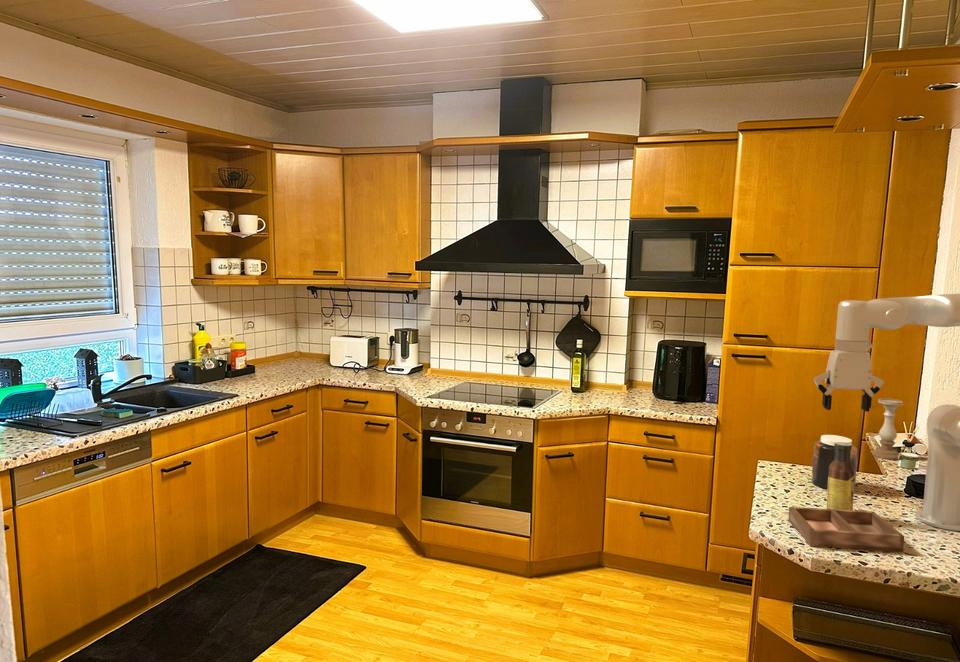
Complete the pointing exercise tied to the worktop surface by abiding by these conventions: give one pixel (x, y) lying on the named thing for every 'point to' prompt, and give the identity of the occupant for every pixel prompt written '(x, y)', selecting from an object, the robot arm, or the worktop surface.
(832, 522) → the caddy
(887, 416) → the candle holder
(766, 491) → the worktop surface
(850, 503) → the sauce bottle
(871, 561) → the worktop surface
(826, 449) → the jar
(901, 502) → the worktop surface
